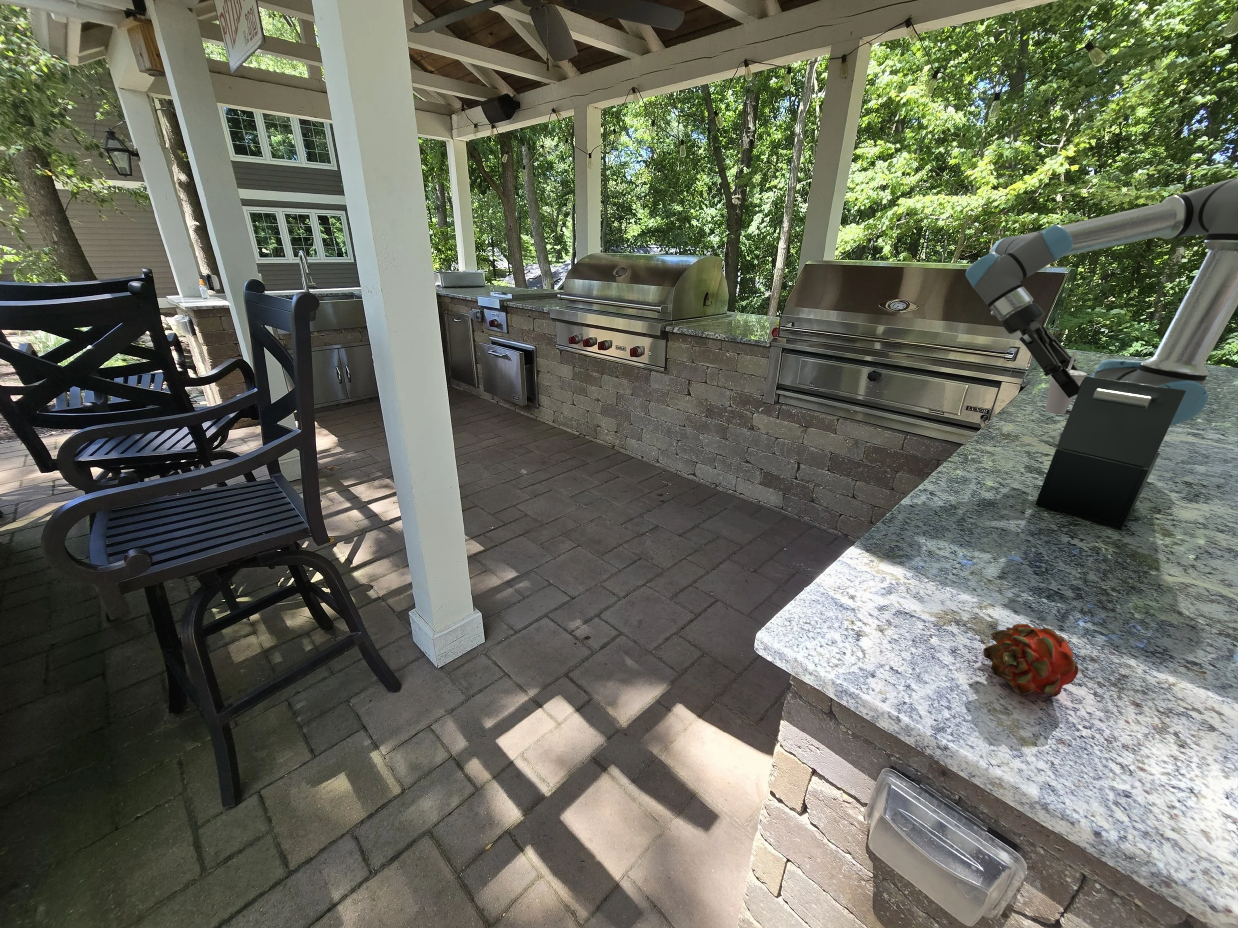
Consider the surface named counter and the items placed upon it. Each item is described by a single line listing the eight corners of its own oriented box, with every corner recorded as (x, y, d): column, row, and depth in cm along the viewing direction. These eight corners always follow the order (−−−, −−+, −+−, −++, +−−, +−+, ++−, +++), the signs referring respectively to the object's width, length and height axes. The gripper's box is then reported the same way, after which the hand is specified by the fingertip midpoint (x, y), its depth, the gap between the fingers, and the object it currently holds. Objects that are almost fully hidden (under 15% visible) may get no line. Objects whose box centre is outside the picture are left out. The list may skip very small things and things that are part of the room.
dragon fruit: (993, 713, 60) (1017, 674, 68) (1083, 718, 54) (1099, 675, 62) (964, 642, 62) (992, 612, 69) (1049, 639, 55) (1069, 607, 63)
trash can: (1052, 487, 114) (1072, 434, 109) (1133, 509, 104) (1160, 452, 99) (1034, 504, 106) (1055, 448, 101) (1120, 530, 96) (1148, 470, 91)
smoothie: (1067, 410, 120) (1088, 351, 114) (1076, 417, 115) (1099, 356, 109) (1034, 406, 123) (1054, 349, 117) (1041, 414, 117) (1062, 354, 112)
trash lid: (1085, 376, 97) (1075, 377, 91) (1186, 390, 87) (1183, 392, 81) (1057, 446, 101) (1046, 452, 95) (1150, 467, 91) (1144, 475, 86)
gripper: (1013, 318, 128) (1071, 393, 123) (986, 325, 117) (1049, 408, 112) (1046, 298, 122) (1108, 376, 117) (1021, 304, 111) (1089, 390, 106)
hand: (1079, 392), depth 114 cm, fingers closed on smoothie, 6 cm apart
